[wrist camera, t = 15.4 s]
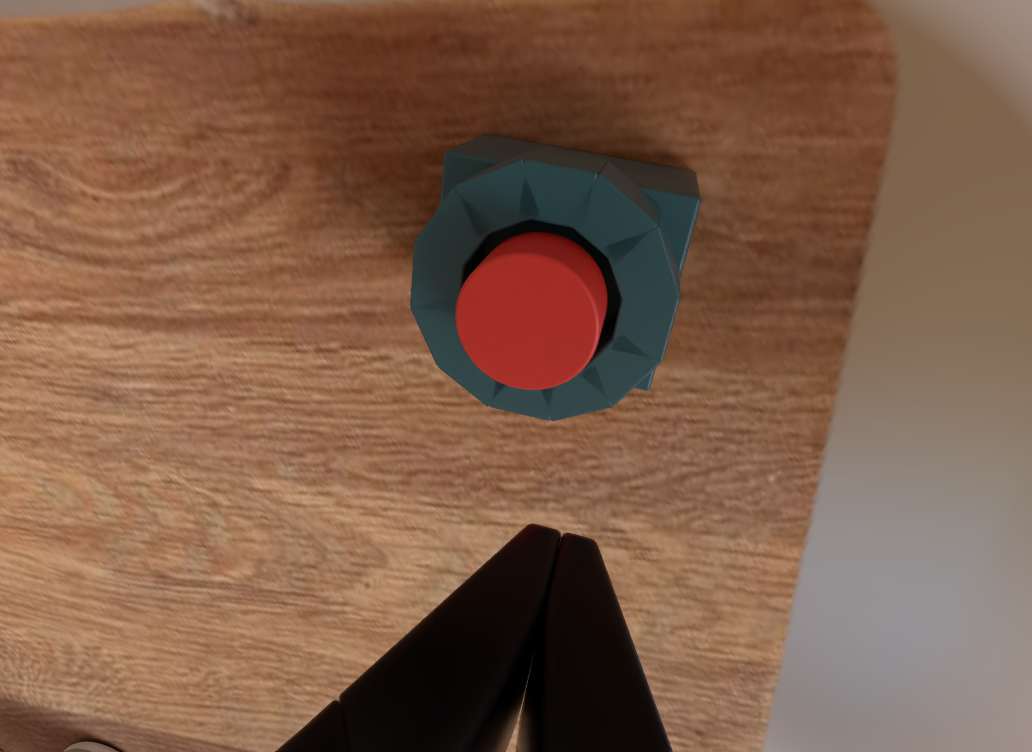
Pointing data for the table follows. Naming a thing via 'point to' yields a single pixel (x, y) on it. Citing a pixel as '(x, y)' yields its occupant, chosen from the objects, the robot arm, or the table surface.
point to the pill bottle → (89, 747)
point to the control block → (574, 215)
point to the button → (532, 311)
